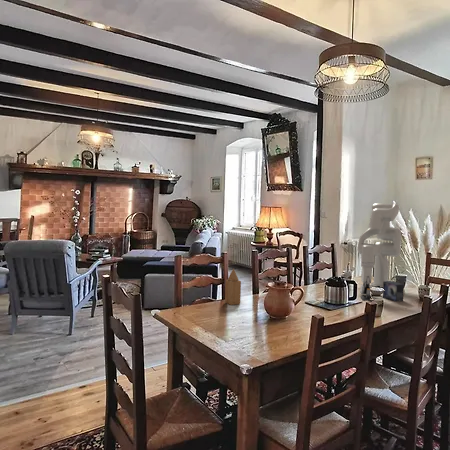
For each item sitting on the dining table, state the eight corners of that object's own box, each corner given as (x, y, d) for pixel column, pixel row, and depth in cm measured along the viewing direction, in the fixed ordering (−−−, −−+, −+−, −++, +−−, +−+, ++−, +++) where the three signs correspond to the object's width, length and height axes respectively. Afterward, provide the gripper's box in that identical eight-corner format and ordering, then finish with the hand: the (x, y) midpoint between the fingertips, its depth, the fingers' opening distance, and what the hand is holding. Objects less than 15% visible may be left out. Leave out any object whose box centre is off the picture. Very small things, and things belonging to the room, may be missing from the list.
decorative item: (234, 301, 221) (235, 267, 219) (240, 304, 215) (241, 268, 214) (224, 302, 217) (225, 267, 216) (231, 305, 212) (232, 269, 210)
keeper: (360, 297, 239) (360, 286, 239) (373, 298, 237) (374, 287, 237) (362, 300, 231) (362, 289, 231) (376, 301, 230) (376, 290, 229)
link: (360, 292, 247) (360, 284, 246) (370, 292, 245) (370, 285, 245) (361, 294, 241) (362, 286, 240) (371, 294, 239) (372, 287, 239)
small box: (381, 297, 240) (382, 281, 239) (389, 296, 242) (390, 280, 242) (395, 301, 230) (396, 284, 229) (403, 300, 233) (404, 283, 232)
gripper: (359, 262, 251) (358, 289, 252) (363, 266, 234) (361, 295, 235) (371, 262, 250) (370, 290, 251) (376, 267, 233) (374, 296, 234)
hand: (366, 292), depth 243 cm, fingers closed on link, 6 cm apart
